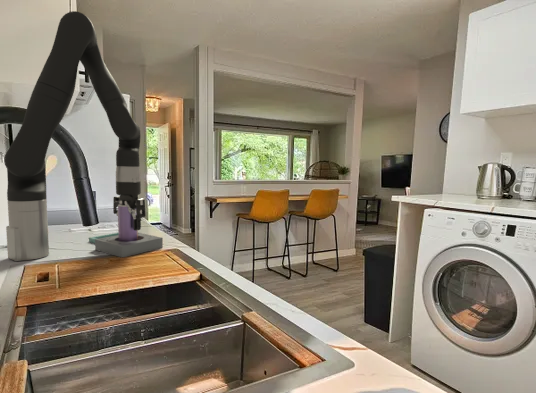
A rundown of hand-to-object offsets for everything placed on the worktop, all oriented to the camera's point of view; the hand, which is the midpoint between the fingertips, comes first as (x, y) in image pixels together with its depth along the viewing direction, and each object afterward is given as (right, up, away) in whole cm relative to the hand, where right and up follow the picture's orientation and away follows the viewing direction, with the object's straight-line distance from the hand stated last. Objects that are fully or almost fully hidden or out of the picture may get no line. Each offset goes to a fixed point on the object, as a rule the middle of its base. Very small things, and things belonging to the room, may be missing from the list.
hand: (129, 228), depth 105 cm
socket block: (0, -7, +1) cm, 7 cm away
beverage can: (-1, -7, +1) cm, 7 cm away
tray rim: (-10, -6, +11) cm, 16 cm away
